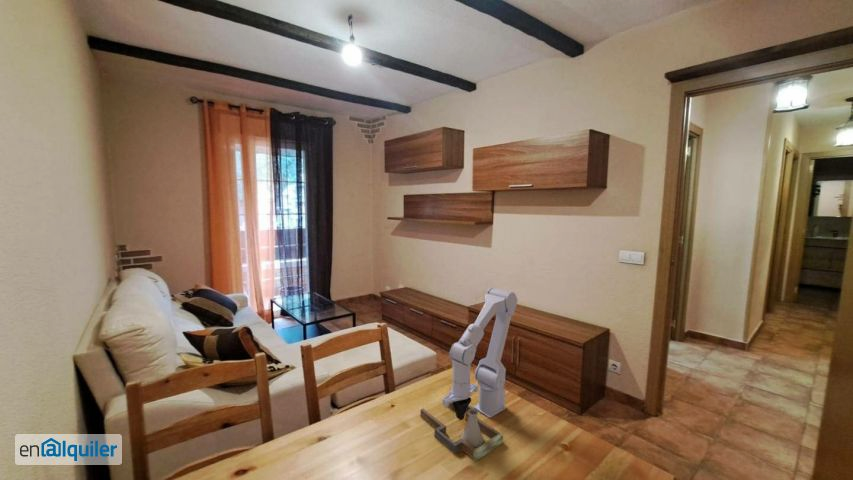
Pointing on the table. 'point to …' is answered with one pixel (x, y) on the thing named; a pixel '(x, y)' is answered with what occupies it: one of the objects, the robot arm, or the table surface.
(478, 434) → the flask
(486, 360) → the robot arm
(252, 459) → the table surface
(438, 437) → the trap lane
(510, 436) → the table surface
